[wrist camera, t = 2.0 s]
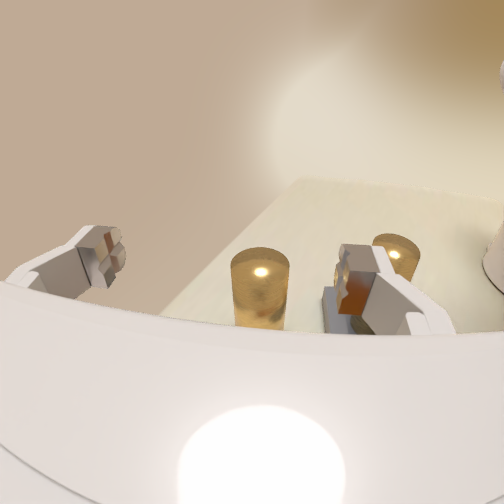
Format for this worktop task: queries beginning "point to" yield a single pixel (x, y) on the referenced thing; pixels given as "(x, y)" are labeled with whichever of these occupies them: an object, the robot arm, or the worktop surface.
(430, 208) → the worktop surface
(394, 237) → the seated billet
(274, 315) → the cylinder
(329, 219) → the worktop surface
